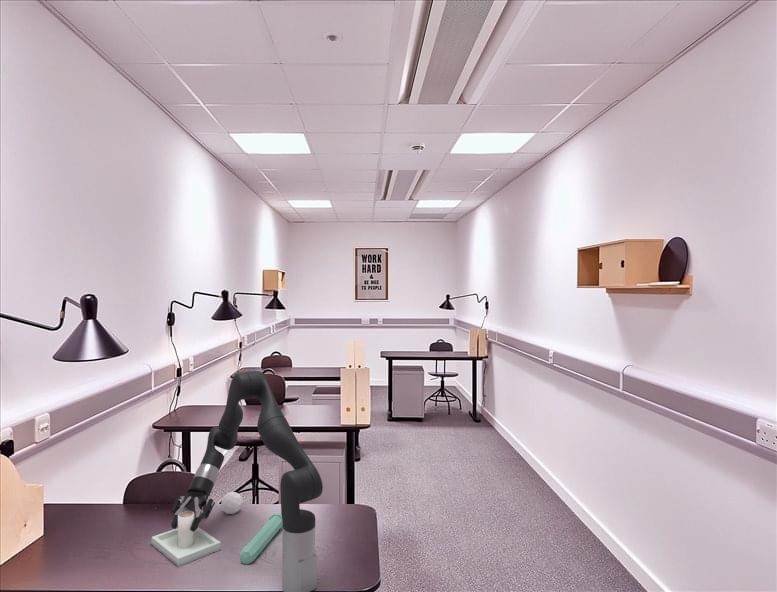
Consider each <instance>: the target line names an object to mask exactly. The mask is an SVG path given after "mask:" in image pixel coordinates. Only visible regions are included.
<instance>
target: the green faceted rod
mask: <svg viewBox="0 0 777 592" xmlns="http://www.w3.org/2000/svg"><path fill="white" fill-rule="evenodd" d="M280 528H281V529H283V521H282V515H281V513H273V514H272V515H271V516H270V517H269V518H268V521H267V522H266V523H265V524H264V525H263V527H261V529H260V530H259V531H258V532H257V533H256V534H255V536H253V538H251V540H249V542H248V543H247V544H246V545H245V546H244V548H242V550H241V551H240V552H239V560H240V561H241V562H242V564H243V565H249V563H250V564H251V563H253V562H254V561H255V559H256V558H257V557H258V556H259V554H260V553H262V551H263V550H264V549H265V547H266V546H267V545H268V543H270V541H271V540H272V539H273V537H274V536H276V534H277V533H278V532H279V529H280ZM281 529H280V530H281Z"/></svg>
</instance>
